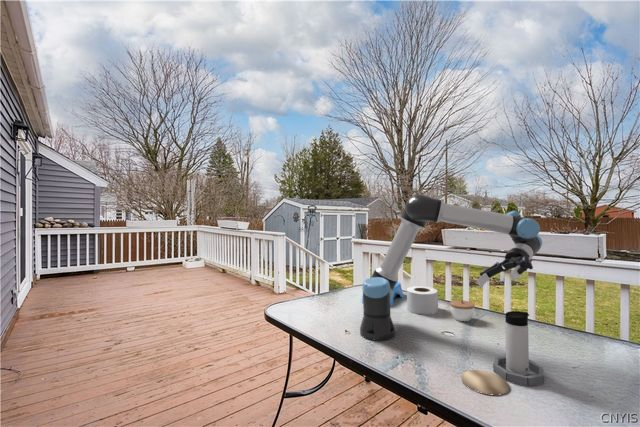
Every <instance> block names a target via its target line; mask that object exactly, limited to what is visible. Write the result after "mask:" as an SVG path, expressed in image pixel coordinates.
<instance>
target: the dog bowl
mask: <svg viewBox="0 0 640 427" xmlns="http://www.w3.org/2000/svg"><path fill="white" fill-rule="evenodd" d="M397 295H399V296H400V298H401V297H402V298H404V296H403V295H404V292H403V289H402V284H401V282H400V281H399V280H398V281H397V283H396V285H395V287H394V289H393V291H392V293H391V297H390V306H392V305H394V304H395V301H394V299H395V297H397ZM361 301H362V302H361V304H363V295H362V297H361Z"/></svg>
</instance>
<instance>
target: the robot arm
mask: <svg viewBox="0 0 640 427" xmlns="http://www.w3.org/2000/svg"><path fill="white" fill-rule="evenodd" d="M399 219H400V221H401V222H400V224H399V227H398V229H397V231H396V232H395V235H394V237H393V239H392V240H391V243H390V245H389V246H388V249H387V251H386V253H385V255H384V258H383V260H382V262H381V263H380V265H379V267H375V269H374V271H373V272H372V275H371V277H369V278H366V279H365V280H363V283H362V288H361V289H362V296H363V303H362V304H363V305H362V306H363V307H362V308H363V311H362V312H363V317H362V320H361V323H360V327H359V334H360V336H362V337H363V336H364V337H363V338H365V337H366V338H365V339H367V338H369V339H368V340H371V339H375V340H374V341H386V340H387V339H388V340H391V339H392V337H393V338H394V337H395V336H396V328H395V325H394V322H393V319H392V317H391V316H392V315H391V305H390V297H391V293H392V291H393V289H394V287H395V285H396V283H397V281H398V282H399V278H398V277H397V276H398V273H399V271H400V269H401V267H402V265H403V263H404V261H405V259H406V258H407V255H408V253H409V251H410V249H411V247H412V245H413V243H414V241H415V239H416V237H417V235H418V233H419V231H420V230H422V229H424V228H425V227H426V224H427V223H428V222H430V223H435V224H439V223H440V222H443V223H447V224H454V225H458V226H464V227H469V228H474V229H480V230H483V231H488V232H489V231H490V232H495V233H499V234H504V235H509V237H510V238H511V240H512V241H513V243H514V245H513V246H512V247H511V248H510V249H509V250H508V252H506V254H505V255H504V260H502V261H501V262H500V261H498V262H497V261H496V262H495V263H494V264H493V265H491V266H490V267H488V268H486V269H485V270H483V271H481V272H479V276H480V277H479V278H478V279H477V280H476V283H477V285H478V286H479V287H480V288H483V287H484V286H485V284H486V283H487V282H489V281H490V279H491V278H493V277H494V276H496V275H498V274H500V273H502V272H503V273H505V272H507V271H508V270H511V272H510V273H509V275H510V277H511V278H512V280H513V281H514V282H516V281H517V280H518V279H519V278H520V277H521V275H522V274H523V273H524V272H527V271H528V269H529V270H533V269H534V267H533V264H532V262H533V259H532V258H533V257H534V256H535V255H536V254H537V253H538V252H539V251H540V250H541V247H542V245H543V240H542V238H541V237H540V236H539V234H540V231H541V226H540V224H539V223H538V222H537V221H536V220H535V219H534V218H530V217H523V216H521V214H520V213H519V212H518V211H517V210H511V211H509V212H507V213H501V212H495V211H490V210H485V209H478V208H473V207H467V206H463V205H457V204H451V203H446V202H444V201H443V200H442V199H438V198H433V197H430V196H428V195H425V194H418V193H417V194H415V195H412V196H411V197H409V198H408V199H407V201H406V204H405V206H404V208H403V210H402V213H401V215H400V218H399ZM512 269H513V270H512ZM390 338H391V339H390ZM388 340H387V341H388Z"/></svg>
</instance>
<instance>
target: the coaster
mask: <svg viewBox="0 0 640 427" xmlns="http://www.w3.org/2000/svg"><path fill="white" fill-rule="evenodd" d="M460 378H461V379H462V380H461V382H462V381H463V382H462V384H463V383H464V384H465V385H466V386H465V385H464V384H463V385H464V386H465V387H467V386H468V387H469V388H471V389H473V390H476V391H479V392H482V393H487V394H493V395H492V396H500V395H499V394H503V395H505V394H506V392H507V391H508V392H509V391H510V390H509V389H510V388H509V387H510V386H509V383H508V381H506V380H504V379H503V378H502V377H500V376H499V375H497V374H496V373H494V372H490V371H487V370H480V369H472V370H471V369H470V370H467V371H464V372H462V374H461V377H460ZM468 387H467V388H468ZM469 388H468V389H469ZM471 389H470V390H471ZM473 390H472V391H473ZM508 392H507V393H508ZM504 393H505V394H504Z"/></svg>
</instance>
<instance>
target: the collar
mask: <svg viewBox="0 0 640 427" xmlns="http://www.w3.org/2000/svg"><path fill="white" fill-rule="evenodd" d="M502 366H506V355H502V356H495V357H494V359H493V368H492V369H493V370H492V373H494V374H496V375H498V376H500V377H502V378H503V379H504V380H505V381H506V382H507V383H508V382H509V383H513V384H517V385H521V386H525V387H533V386H539V385H544V384H545V373H544V372H545V368H544V367H543V366H542V365H540V364H537V362H534V361H533V360H531V359H529V371H531V372H534V373H535V374H529V376H524V375H520V374H516V373H511V372H508V371H506V368H504V367H502Z"/></svg>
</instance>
